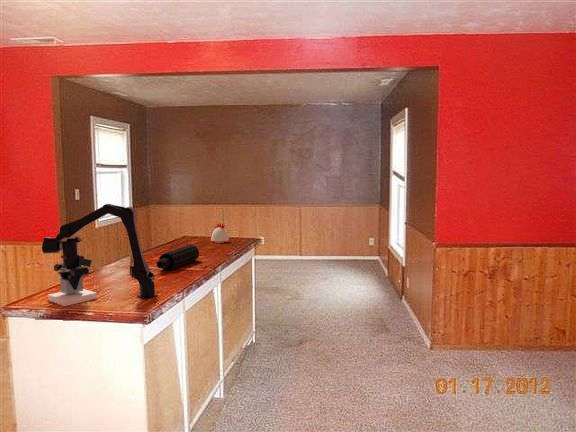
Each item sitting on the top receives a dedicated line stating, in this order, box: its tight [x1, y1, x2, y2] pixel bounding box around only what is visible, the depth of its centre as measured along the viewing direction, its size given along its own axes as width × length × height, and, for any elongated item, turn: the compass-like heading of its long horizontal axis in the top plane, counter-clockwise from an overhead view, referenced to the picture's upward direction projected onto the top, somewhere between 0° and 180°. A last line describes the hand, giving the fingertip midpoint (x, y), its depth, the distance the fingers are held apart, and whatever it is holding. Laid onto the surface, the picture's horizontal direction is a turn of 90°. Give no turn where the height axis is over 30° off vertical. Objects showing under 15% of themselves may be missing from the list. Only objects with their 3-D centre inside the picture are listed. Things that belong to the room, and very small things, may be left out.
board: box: [47, 288, 98, 307], centre depth 192 cm, size 14×14×2 cm
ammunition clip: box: [129, 251, 134, 276], centre depth 243 cm, size 11×2×12 cm, turn 169°
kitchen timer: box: [210, 222, 230, 242], centre depth 350 cm, size 14×14×15 cm
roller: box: [156, 244, 200, 272], centre depth 260 cm, size 38×10×10 cm, turn 165°
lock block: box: [59, 276, 84, 294], centre depth 192 cm, size 5×7×6 cm
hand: (72, 288), depth 192 cm, fingers closed on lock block, 5 cm apart
